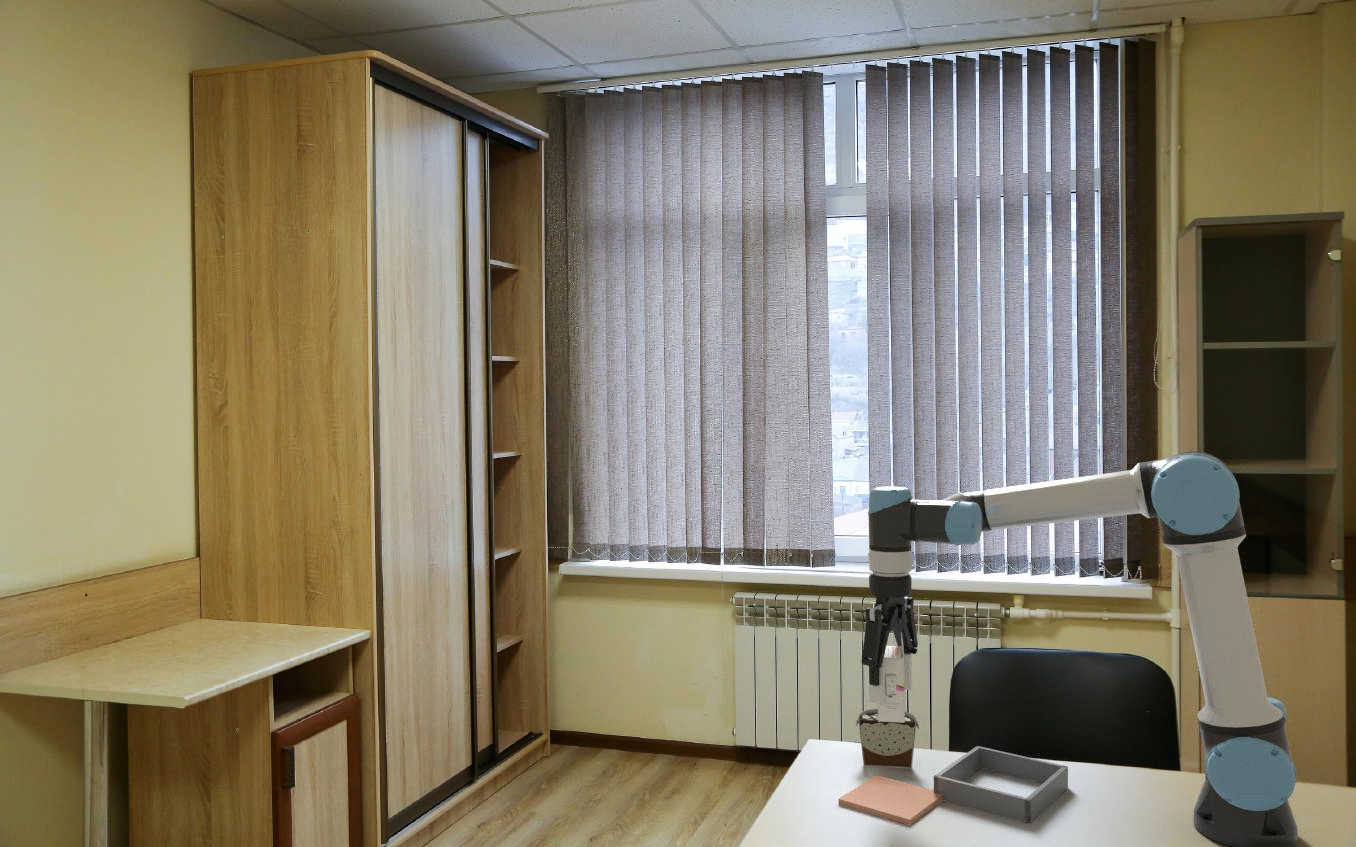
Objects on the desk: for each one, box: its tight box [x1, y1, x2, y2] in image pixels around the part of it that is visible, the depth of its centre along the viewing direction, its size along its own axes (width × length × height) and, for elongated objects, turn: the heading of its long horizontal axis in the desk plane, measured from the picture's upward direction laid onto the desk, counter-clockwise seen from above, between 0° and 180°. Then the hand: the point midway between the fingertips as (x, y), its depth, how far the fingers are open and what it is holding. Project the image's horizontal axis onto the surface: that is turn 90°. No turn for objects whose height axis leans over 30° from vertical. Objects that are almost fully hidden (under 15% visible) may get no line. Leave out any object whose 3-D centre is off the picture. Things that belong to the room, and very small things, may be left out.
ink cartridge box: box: [877, 632, 906, 723], centre depth 178 cm, size 9×5×15 cm, turn 168°
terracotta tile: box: [838, 774, 944, 826], centre depth 179 cm, size 14×14×1 cm
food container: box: [855, 708, 920, 769], centre depth 198 cm, size 12×6×10 cm, turn 80°
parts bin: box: [933, 745, 1069, 824], centre depth 182 cm, size 18×20×4 cm
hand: (890, 695), depth 178 cm, fingers closed on ink cartridge box, 10 cm apart
